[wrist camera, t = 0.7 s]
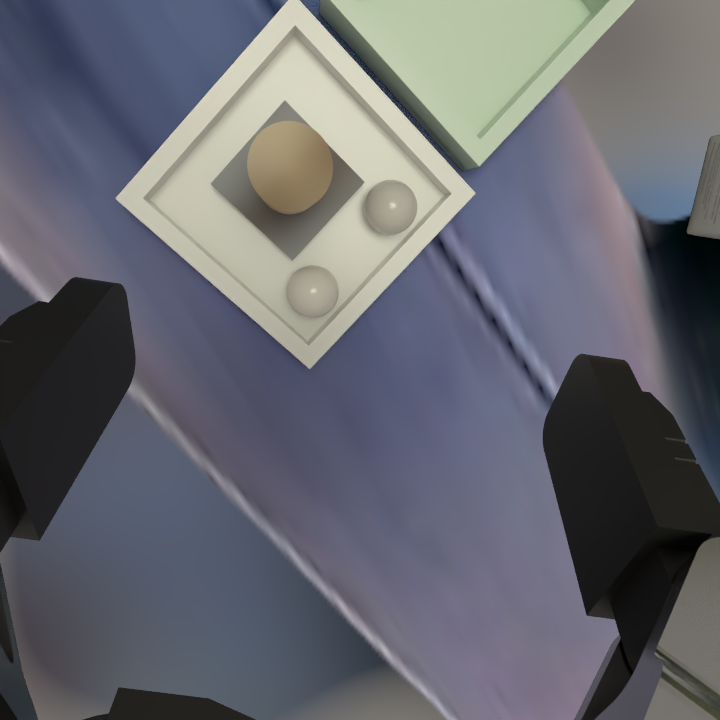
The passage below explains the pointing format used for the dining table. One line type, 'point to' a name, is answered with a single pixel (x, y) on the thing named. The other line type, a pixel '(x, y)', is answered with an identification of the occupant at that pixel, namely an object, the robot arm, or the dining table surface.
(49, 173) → the dining table surface
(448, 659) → the dining table surface
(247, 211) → the ball
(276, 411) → the dining table surface
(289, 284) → the pebble
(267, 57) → the cream square tray
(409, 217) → the pebble
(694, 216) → the skincare box
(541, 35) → the tray
